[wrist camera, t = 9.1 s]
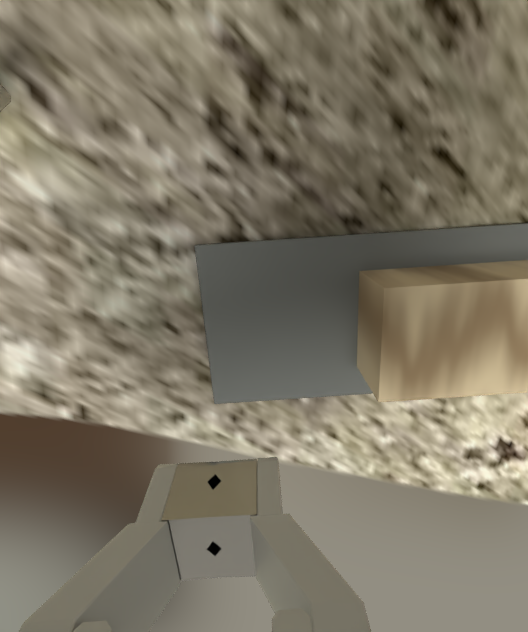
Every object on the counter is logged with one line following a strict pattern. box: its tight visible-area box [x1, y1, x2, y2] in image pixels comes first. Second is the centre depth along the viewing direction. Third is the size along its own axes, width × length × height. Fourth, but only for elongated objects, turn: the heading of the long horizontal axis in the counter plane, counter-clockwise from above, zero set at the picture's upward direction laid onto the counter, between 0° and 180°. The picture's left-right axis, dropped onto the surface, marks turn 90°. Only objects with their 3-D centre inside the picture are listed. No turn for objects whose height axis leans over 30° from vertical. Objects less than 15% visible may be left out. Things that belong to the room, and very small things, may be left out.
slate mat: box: [195, 223, 528, 404], centre depth 21 cm, size 10×26×1 cm, turn 94°
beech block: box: [357, 260, 528, 402], centre depth 19 cm, size 6×4×12 cm
